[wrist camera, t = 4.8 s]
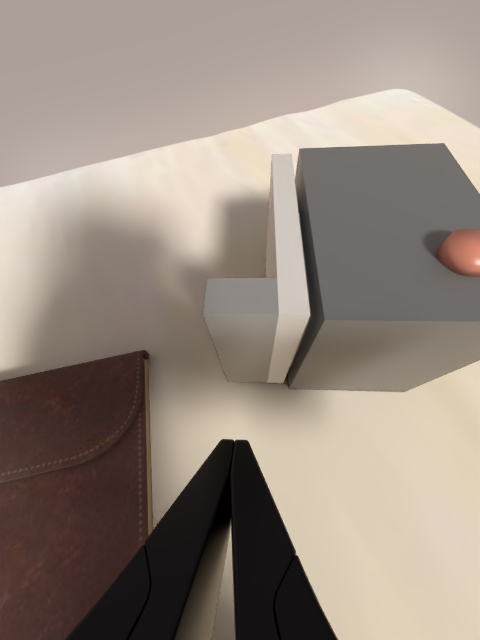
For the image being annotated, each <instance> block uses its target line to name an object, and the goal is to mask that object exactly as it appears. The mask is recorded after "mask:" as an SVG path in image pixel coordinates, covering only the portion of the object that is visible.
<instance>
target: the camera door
mask: <svg viewBox="0 0 480 640" xmlns="http://www.w3.org/2000/svg"><path fill="white" fill-rule="evenodd" d="M203 317H204V319H205V322H206V325H207V327H208V330H209V333H210V335H211V338H212V341H213V344H214V346H215V349H216V352H217V354H218V357H219V360H220V362H221V365H222V368H223V371H224V373H225V376H226V379H227V381H228V382H259V383H283V382H284V380H285V377H286V375H287V372H288V370H289V367H290V365H291V362H292V360H293V357H294V355H295V352H296V350H297V347H298V345H299V342H300V340H301V337H302V334H303V332H304V329H305V327H306V324H307V322H308V319H309V317H310V308H309V299H308V291H307V282H306V273H305V265H304V256H303V247H302V239H301V230H300V222H299V213H298V204H297V196H296V187H295V178H294V170H293V161H292V154H272V161H271V179H270V197H269V214H268V232H267V249H266V278H207V284H206V292H205V299H204V307H203Z"/></svg>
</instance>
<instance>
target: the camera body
mask: <svg viewBox="0 0 480 640" xmlns="http://www.w3.org/2000/svg"><path fill="white" fill-rule="evenodd" d="M295 187H296V196H297V204H298V213H299V222H300V230H301V239H302V247H303V256H304V265H305V273H306V282H307V291H308V299H309V308H310V317H309V319H308V322H307V324H306V327H305V329H304V332H303V334H302V337H301V340H300V342H299V345H298V347H297V350H296V352H295V355H294V357H293V360H292V362H291V365H290V367H289V370H288V378H289V389H312V390H349V391H386V392H405V391H408V390H410V389H412V388H415V387H417V386H420V385H422V384H424V383H427V382H429V381H431V380H434V379H436V378H439V377H441V376H443V375H446V374H448V373H450V372H453V371H455V370H457V369H460V368H462V367H465V366H467V365H469V364H472V363H474V362H476V361H479V360H480V194H479V193H478V191H477V190H476V188H475V187H474V185H473V184H472V183H471V181H470V180H469V178H468V177H467V175H466V174H465V173H464V171H463V170H462V168H461V167H460V165H459V164H458V163H457V161H456V160H455V158H454V157H453V155H452V154H451V153H450V151H449V150H448V148H447V147H446V145H445V144H444V143H439V144H412V145H385V146H358V147H331V148H303V149H299V156H298V163H297V169H296V176H295Z"/></svg>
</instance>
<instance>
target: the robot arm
mask: <svg viewBox="0 0 480 640" xmlns="http://www.w3.org/2000/svg"><path fill="white" fill-rule="evenodd" d="M230 527H231V533H232V564H233V594H234V624H235V640H338V639H337V637H336V635H335V633H334V631H333V629H332V627H331V625H330V623H329V622H328V620H327V618H326V616H325V614H324V612H323V610H322V608H321V606H320V604H319V602H318V599H317V597H316V595H315V593H314V591H313V589H312V586H311V584H310V582H309V580H308V578H307V576H306V573H305V571H304V569H303V566H302V564H301V562H300V559H299V557H298V556H297V555H296V551H295V548H294V546H293V544H292V541H291V539H290V537H289V534H288V532H287V530H286V527H285V525H284V523H283V520H282V518H281V516H280V513H279V511H278V509H277V506H276V504H275V502H274V499H273V497H272V495H271V493H270V490H269V488H268V486H267V483H266V481H265V479H264V476H263V474H262V472H261V469H260V467H259V465H258V462H257V460H256V458H255V455H254V453H253V451H252V448H251V446H250V444H249V442H248V441H247V440H235V442H234V440H232V439H222V440H221V441H220V442H219V443H218V445H217V446H216V447H215V449H214V450H213V451H212V453H211V454H210V455H209V457H208V458H207V459H206V460H205V462H204V463H203V464H202V466H201V467H200V468H199V470H198V471H197V472H196V474H195V475H194V476H193V478H192V479H191V480H190V482H189V483H188V484H187V486H186V487H185V488H184V490H183V491H182V492H181V494H180V495H179V496H178V498H177V499H176V500H175V502H174V503H173V504H172V506H171V507H170V508H169V510H168V511H167V512H166V514H165V515H164V516H163V518H162V519H161V520H160V522H159V523H158V524H157V526H156V527H155V528H154V530H153V531H152V532H151V534H150V535H149V536H148V538H147V539H146V540H145V545H141V547H140V548H139V549H138V551H137V552H136V553H135V555H134V556H133V557H132V559H131V560H130V562H129V563H128V564H127V565H126V567H125V568H124V569H123V570H122V572H121V573H120V574H119V576H118V577H117V578H116V579H115V581H114V582H113V583H112V584H111V586H110V587H109V588H108V589H107V591H106V592H105V593H104V594H103V595H102V597H101V598H100V599H99V600H98V601H97V602H96V604H95V605H94V606H93V607H92V608H91V609H90V611H89V612H88V613H87V614H86V615H85V616H84V618H83V619H82V620H81V621H80V622H79V623H78V625H77V626H76V627H75V628H74V629H73V630H72V631H71V632H70V634H69V635H68V636H67V637H66V638H65V639H64V640H212V634H213V628H214V622H215V616H216V610H217V605H218V599H219V593H220V587H221V581H222V575H223V569H224V563H225V558H226V552H227V546H228V540H229V534H230Z"/></svg>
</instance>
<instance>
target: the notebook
mask: <svg viewBox="0 0 480 640" xmlns="http://www.w3.org/2000/svg"><path fill="white" fill-rule="evenodd" d="M148 358H149V354H148V352H147V351H145V350H142V351H137V352H132V353H128V354H123V355H118V356H114V357H109V358H105V359H100V360H95V361H91V362H86V363H81V364H77V365H72V366H68V367H63V368H58V369H54V370H49V371H45V372H40V373H35V374H31V375H26V376H21V377H17V378H12V379H8V380H3V381H0V640H64V639H65V638H66V637H67V636H68V635H69V634H70V632H71V631H72V630H73V629H74V628H75V627H76V626H77V625H78V623H79V622H80V621H81V620H82V619H83V618H84V616H85V615H86V614H87V613H88V612H89V611H90V609H91V608H92V607H93V606H94V605H95V604H96V602H97V601H98V600H99V599H100V598H101V597H102V595H103V594H104V593H105V592H106V591H107V589H108V588H109V587H110V586H111V584H112V583H113V582H114V581H115V579H116V578H117V577H118V576H119V574H120V573H121V572H122V570H123V569H124V568H125V567H126V565H127V564H128V563H129V562H130V560H131V559H132V557H133V556H134V555H135V553H136V552H137V551H138V549H139V548H140V547H141V545H145V540H146V539H147V538H148V536H149V535H150V534H151V532H152V531H153V514H152V480H151V445H150V410H149V375H148V362H147V361H146V360H145V359H148Z"/></svg>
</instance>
